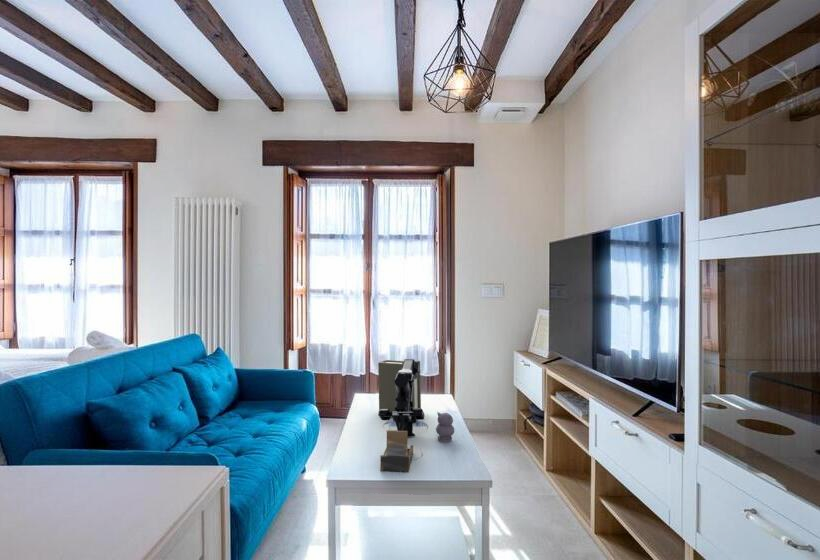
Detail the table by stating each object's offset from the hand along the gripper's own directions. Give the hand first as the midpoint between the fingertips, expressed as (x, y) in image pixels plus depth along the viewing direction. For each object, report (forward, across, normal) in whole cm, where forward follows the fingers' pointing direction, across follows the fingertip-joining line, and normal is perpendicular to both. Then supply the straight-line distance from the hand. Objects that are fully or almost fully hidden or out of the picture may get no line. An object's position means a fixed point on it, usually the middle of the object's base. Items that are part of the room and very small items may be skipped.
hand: (399, 434), depth 168 cm
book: (-30, +15, -46) cm, 57 cm away
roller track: (+11, 0, -1) cm, 11 cm away
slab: (+11, -1, +4) cm, 12 cm away
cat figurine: (-6, -15, -23) cm, 28 cm away
